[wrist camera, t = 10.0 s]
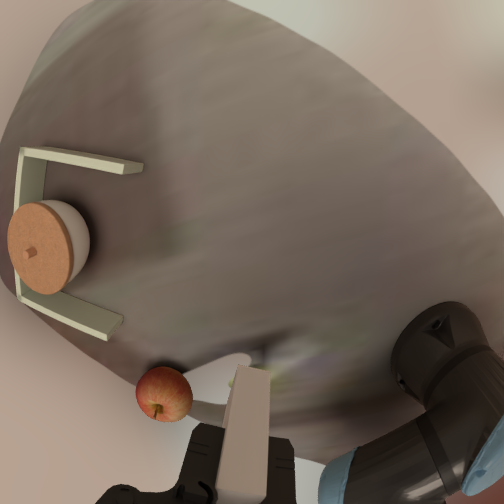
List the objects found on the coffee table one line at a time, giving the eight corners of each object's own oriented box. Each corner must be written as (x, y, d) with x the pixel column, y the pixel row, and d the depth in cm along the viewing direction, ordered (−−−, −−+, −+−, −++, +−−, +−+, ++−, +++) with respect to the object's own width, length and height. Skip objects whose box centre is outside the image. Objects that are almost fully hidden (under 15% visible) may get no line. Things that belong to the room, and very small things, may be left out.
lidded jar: (48, 268, 36) (7, 294, 27) (40, 194, 33) (-7, 207, 24) (107, 275, 35) (68, 307, 26) (101, 192, 32) (53, 204, 23)
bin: (143, 163, 31) (124, 164, 26) (122, 321, 37) (106, 341, 32) (44, 146, 31) (20, 146, 26) (36, 286, 37) (17, 299, 32)
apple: (176, 404, 41) (163, 442, 34) (136, 373, 40) (116, 408, 32) (209, 383, 39) (199, 423, 32) (166, 348, 38) (147, 385, 30)
